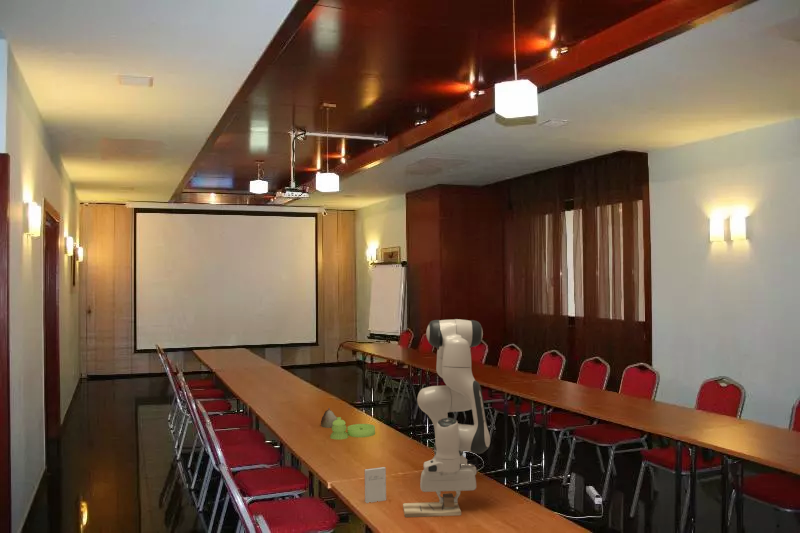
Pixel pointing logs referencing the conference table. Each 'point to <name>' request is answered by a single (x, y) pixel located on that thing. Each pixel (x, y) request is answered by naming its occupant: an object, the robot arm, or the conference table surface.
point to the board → (429, 509)
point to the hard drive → (375, 484)
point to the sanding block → (448, 501)
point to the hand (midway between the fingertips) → (448, 502)
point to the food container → (351, 430)
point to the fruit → (328, 419)
